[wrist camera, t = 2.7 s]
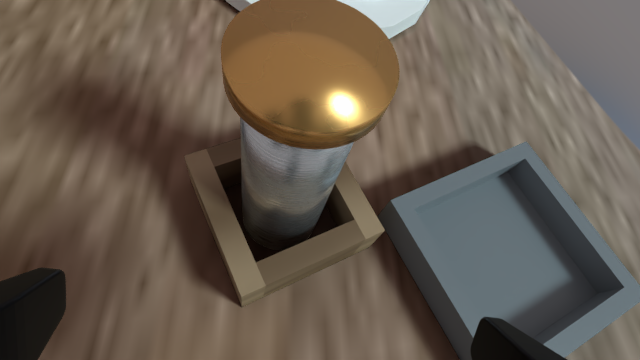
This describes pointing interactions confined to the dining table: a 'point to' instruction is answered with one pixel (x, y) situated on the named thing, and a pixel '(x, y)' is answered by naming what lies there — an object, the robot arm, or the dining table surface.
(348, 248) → the socket block
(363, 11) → the giant coin
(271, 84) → the pin
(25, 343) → the robot arm
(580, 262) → the tray
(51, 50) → the dining table surface
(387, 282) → the dining table surface
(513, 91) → the dining table surface
